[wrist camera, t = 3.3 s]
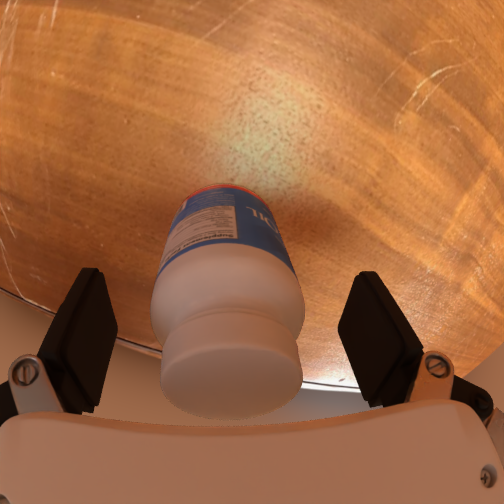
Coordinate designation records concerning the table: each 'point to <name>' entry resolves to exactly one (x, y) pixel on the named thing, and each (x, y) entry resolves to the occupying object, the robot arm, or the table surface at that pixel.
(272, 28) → the table surface
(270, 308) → the pill bottle
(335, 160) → the table surface
